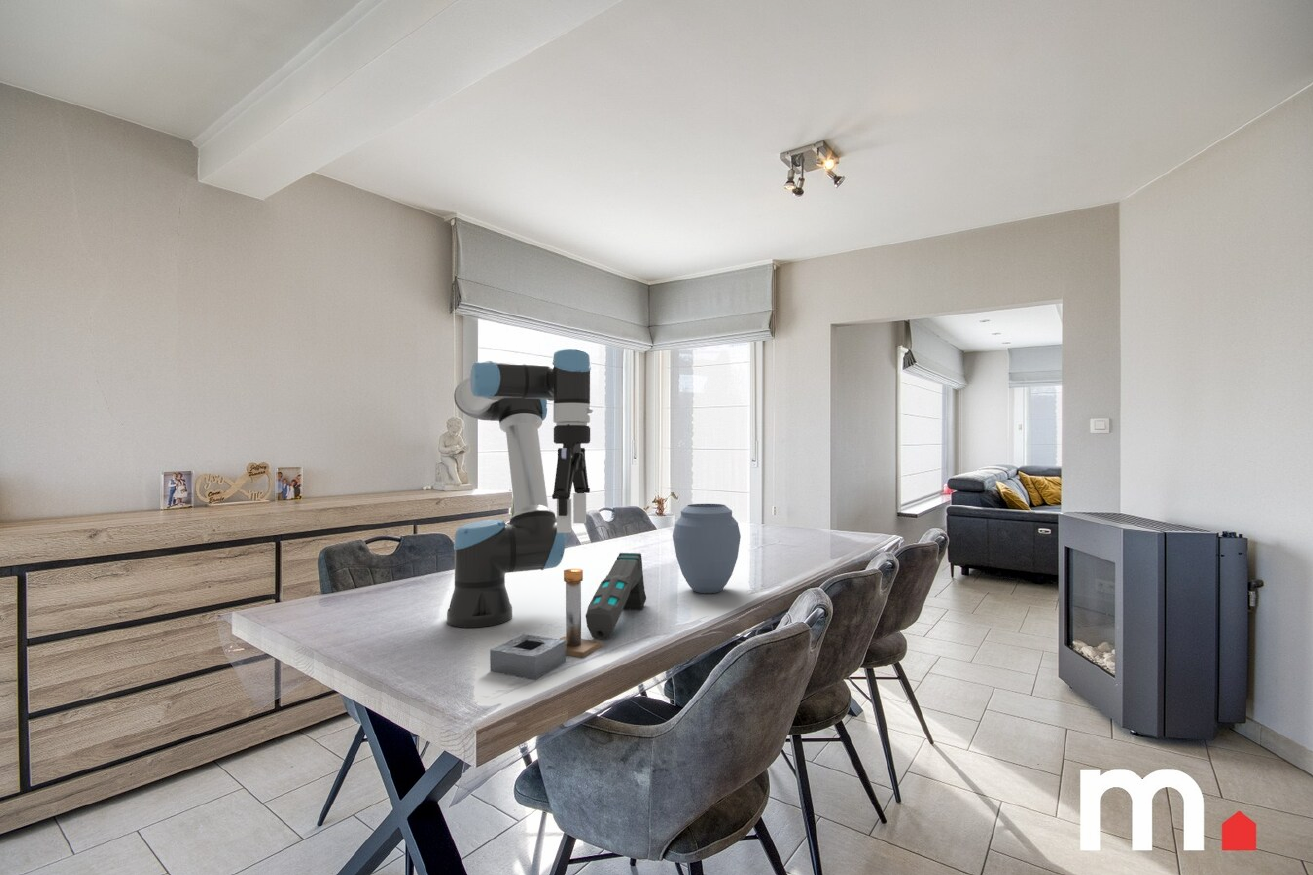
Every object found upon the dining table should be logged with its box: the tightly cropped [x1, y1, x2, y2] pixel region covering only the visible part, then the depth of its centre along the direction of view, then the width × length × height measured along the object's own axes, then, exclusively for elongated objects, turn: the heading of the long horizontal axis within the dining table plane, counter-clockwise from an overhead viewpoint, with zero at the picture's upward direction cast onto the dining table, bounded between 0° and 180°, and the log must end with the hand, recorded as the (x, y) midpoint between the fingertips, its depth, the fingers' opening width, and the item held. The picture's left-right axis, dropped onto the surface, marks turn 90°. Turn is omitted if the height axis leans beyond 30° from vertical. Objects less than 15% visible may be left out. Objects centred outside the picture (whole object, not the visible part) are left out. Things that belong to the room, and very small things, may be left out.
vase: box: [672, 503, 742, 595], centre depth 171 cm, size 20×20×24 cm
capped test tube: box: [563, 568, 584, 647], centre depth 122 cm, size 4×4×15 cm
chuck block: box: [489, 633, 567, 681], centre depth 112 cm, size 10×10×4 cm
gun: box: [585, 552, 647, 640], centre depth 141 cm, size 7×29×15 cm, turn 167°
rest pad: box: [559, 635, 602, 658], centre depth 122 cm, size 9×7×1 cm
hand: (572, 527), depth 123 cm, fingers open, 13 cm apart
